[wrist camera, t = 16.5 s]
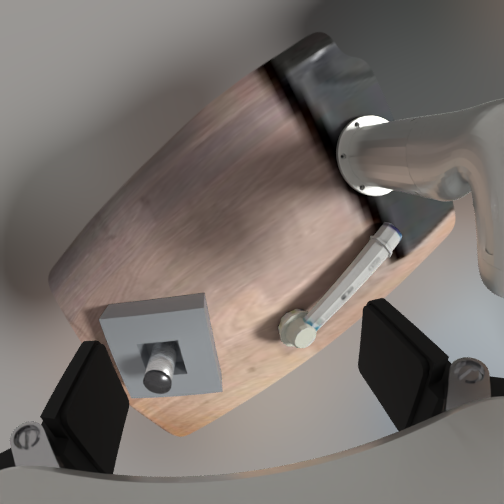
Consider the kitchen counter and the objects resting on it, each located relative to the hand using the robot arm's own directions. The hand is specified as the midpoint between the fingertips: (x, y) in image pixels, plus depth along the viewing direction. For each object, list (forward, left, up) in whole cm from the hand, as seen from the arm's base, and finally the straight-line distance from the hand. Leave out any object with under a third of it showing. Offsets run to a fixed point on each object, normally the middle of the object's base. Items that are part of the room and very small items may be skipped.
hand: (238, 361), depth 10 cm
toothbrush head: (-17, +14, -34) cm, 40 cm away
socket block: (+12, +20, -33) cm, 41 cm away
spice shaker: (+12, +20, -32) cm, 39 cm away
